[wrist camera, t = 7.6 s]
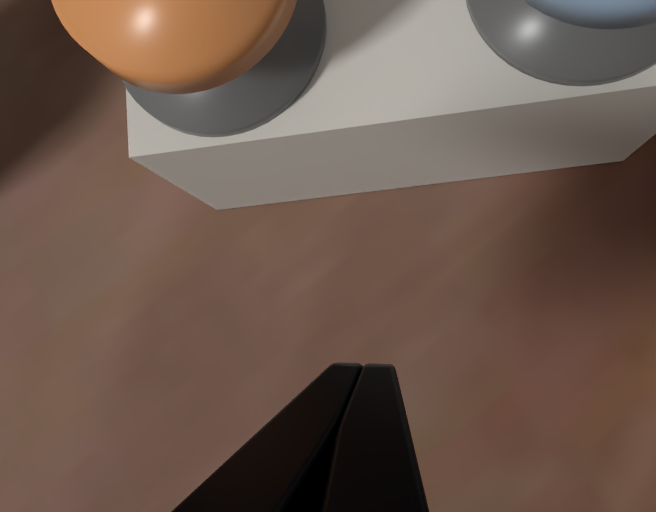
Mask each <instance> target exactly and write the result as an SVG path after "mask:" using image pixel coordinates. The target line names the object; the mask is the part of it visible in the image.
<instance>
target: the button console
mask: <svg viewBox="0 0 656 512" xmlns="http://www.w3.org/2000/svg"><path fill="white" fill-rule="evenodd" d="M121 80H122V79H121ZM122 82H123V84H124V85H125V87H126V101H127V123H128V145H129V158H131V159H133V160H134V161H136V162H138V163H139V164H141V165H143V166H144V167H146V168H148V169H149V170H151V171H153V172H154V173H156V174H158V175H159V176H161V177H163V178H164V179H166V180H168V181H169V182H171V183H173V184H174V185H176V186H178V187H179V188H181V189H183V190H184V191H186V192H188V193H189V194H191V195H193V196H195V197H196V198H198V199H200V200H201V201H203V202H205V203H206V204H208V205H210V206H211V207H213V208H215V209H216V210H221V209H229V208H238V207H246V206H254V205H262V204H271V203H279V202H287V201H295V200H304V199H312V198H320V197H329V196H337V195H345V194H353V193H362V192H370V191H378V190H386V189H395V188H403V187H411V186H420V185H428V184H436V183H444V182H453V181H461V180H469V179H477V178H486V177H494V176H502V175H510V174H519V173H527V172H535V171H544V170H552V169H560V168H568V167H577V166H585V165H593V164H601V163H610V162H618V161H624V160H625V159H626V158H627V157H628V156H630V155H631V154H632V153H633V152H634V151H636V150H637V149H638V148H639V147H640V146H642V145H643V144H644V143H645V142H646V141H648V140H649V139H650V138H651V137H652V136H654V135H655V134H656V23H652V24H649V25H645V26H639V27H634V28H626V29H593V28H587V27H581V26H576V25H572V24H569V23H565V22H562V21H559V20H557V19H554V18H552V17H550V16H547V15H545V14H543V13H541V12H540V11H538V10H536V9H535V8H533V7H531V6H530V5H528V4H527V3H526V2H525V1H523V0H297V2H296V6H295V9H294V12H293V14H292V16H291V19H290V21H289V23H288V25H287V27H286V28H285V30H284V32H283V34H282V35H281V37H280V38H279V40H278V41H277V42H276V44H275V45H274V46H273V48H272V49H271V50H270V51H269V52H268V53H267V54H266V55H265V56H264V57H263V58H262V59H261V60H260V61H259V62H258V63H257V64H255V65H254V66H253V67H252V68H251V69H249V70H248V71H247V72H245V73H243V74H242V75H240V76H239V77H237V78H235V79H234V80H231V81H229V82H227V83H225V84H223V85H221V86H218V87H215V88H212V89H209V90H206V91H201V92H196V93H190V94H163V93H157V92H152V91H148V90H145V89H142V88H139V87H136V86H134V85H132V84H130V83H128V82H126V81H124V80H122Z"/></svg>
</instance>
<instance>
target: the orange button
mask: <svg viewBox="0 0 656 512" xmlns="http://www.w3.org/2000/svg"><path fill="white" fill-rule="evenodd" d="M51 1H52V4H53V6H54V9H55V12H56V14H57V16H58V17H59V19H60V21H61V23H62V25H63V26H64V27H65V29H66V30H67V31H68V33H69V34H70V35H71V37H72V38H73V39H74V40H75V41H76V42H77V43H78V44H79V45H80V46H82V47H83V48H84V49H85V50H86V51H87V52H89V53H90V54H91V55H92V56H93V57H95V58H96V59H97V60H98V61H99V62H101V63H102V64H103V65H104V66H105V67H106V68H108V69H109V70H110V71H111V72H113V73H114V74H115V75H117V76H118V77H119V78H121V79H122V80H124V81H126V82H128V83H130V84H132V85H134V86H136V87H139V88H142V89H145V90H148V91H152V92H157V93H163V94H190V93H196V92H201V91H206V90H209V89H212V88H215V87H218V86H221V85H223V84H225V83H227V82H229V81H231V80H234V79H235V78H237V77H239V76H240V75H242V74H243V73H245V72H247V71H248V70H249V69H251V68H252V67H253V66H254V65H255V64H257V63H258V62H259V61H260V60H261V59H262V58H263V57H264V56H265V55H266V54H267V53H268V52H269V51H270V50H271V49H272V48H273V46H274V45H275V44H276V42H277V41H278V40H279V38H280V37H281V35H282V34H283V32H284V30H285V28H286V27H287V25H288V23H289V21H290V19H291V16H292V14H293V12H294V9H295V6H296V2H297V0H51Z"/></svg>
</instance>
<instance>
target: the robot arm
mask: <svg viewBox="0 0 656 512" xmlns="http://www.w3.org/2000/svg"><path fill="white" fill-rule="evenodd" d="M172 512H429V509H428V504H427V500H426V496H425V492H424V487H423V483H422V479H421V475H420V470H419V466H418V462H417V458H416V453H415V449H414V445H413V441H412V437H411V432H410V428H409V424H408V420H407V415H406V411H405V407H404V403H403V398H402V394H401V390H400V386H399V382H398V377H397V373H396V369H395V367H394V366H393V365H391V364H366V365H365V366H364V367H363V366H362V365H361V364H359V363H334V364H332V365H330V366H329V367H328V368H327V369H326V370H324V371H323V372H322V373H321V374H320V375H319V376H318V377H317V378H316V379H315V380H314V381H313V382H311V383H310V384H309V385H308V386H307V387H306V388H305V389H304V390H303V391H302V392H301V393H300V394H298V395H297V396H296V397H295V398H294V399H293V400H292V401H291V402H290V403H289V404H288V405H287V406H285V407H284V408H283V409H282V410H281V411H280V412H279V413H278V414H277V415H276V416H275V417H274V418H272V419H271V420H270V421H269V422H268V423H267V424H266V425H265V426H264V427H263V428H262V429H261V430H259V431H258V432H257V433H256V434H255V435H254V436H253V437H252V438H251V439H250V440H249V441H248V442H246V443H245V444H244V445H243V446H242V447H241V448H240V449H239V450H238V451H237V452H236V453H235V454H233V455H232V456H231V457H230V458H229V459H228V460H227V461H226V462H225V463H224V464H223V465H222V466H220V467H219V468H218V469H217V470H216V471H215V472H214V473H213V474H212V475H211V476H210V477H208V478H207V479H206V480H205V481H204V482H203V483H202V484H201V485H200V486H199V487H198V488H197V489H195V490H194V491H193V492H192V493H191V494H190V495H189V496H188V497H187V498H186V499H185V500H184V501H182V502H181V503H180V504H179V505H178V506H177V507H176V508H175V509H174V510H173V511H172Z"/></svg>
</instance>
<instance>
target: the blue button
mask: <svg viewBox="0 0 656 512" xmlns="http://www.w3.org/2000/svg"><path fill="white" fill-rule="evenodd" d="M523 1H525V2H526V3H527V4H528V5H530V6H531V7H533V8H535V9H536V10H538V11H540V12H541V13H543V14H545V15H547V16H550V17H552V18H554V19H557V20H559V21H562V22H565V23H569V24H572V25H576V26H581V27H587V28H593V29H626V28H634V27H639V26H645V25H649V24H652V23H656V0H523Z"/></svg>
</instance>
